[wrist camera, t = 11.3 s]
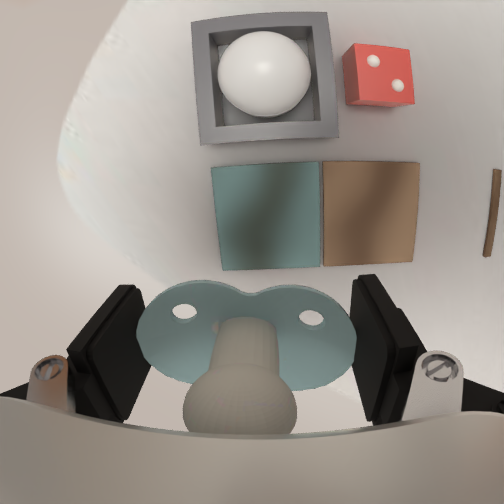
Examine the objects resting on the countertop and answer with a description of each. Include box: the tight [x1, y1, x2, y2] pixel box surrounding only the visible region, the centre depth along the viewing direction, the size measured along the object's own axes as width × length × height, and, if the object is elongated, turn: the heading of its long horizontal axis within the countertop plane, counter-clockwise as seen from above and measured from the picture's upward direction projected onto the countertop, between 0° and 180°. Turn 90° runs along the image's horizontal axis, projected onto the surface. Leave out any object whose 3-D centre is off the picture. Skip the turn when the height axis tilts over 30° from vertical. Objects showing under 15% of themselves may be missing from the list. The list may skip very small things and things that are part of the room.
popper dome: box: [218, 31, 311, 118], centre depth 15 cm, size 5×5×5 cm
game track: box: [211, 161, 502, 271], centre depth 21 cm, size 23×8×1 cm, turn 94°
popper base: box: [191, 12, 415, 146], centre depth 16 cm, size 13×8×4 cm, turn 94°
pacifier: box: [136, 280, 357, 435], centre depth 9 cm, size 7×6×6 cm
